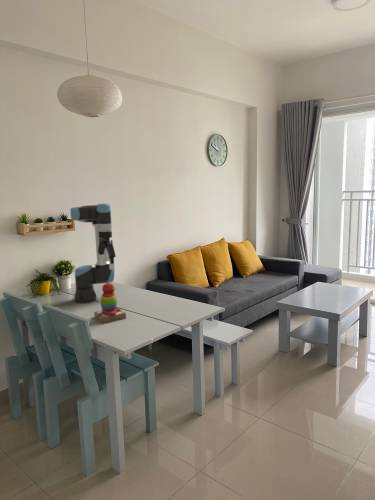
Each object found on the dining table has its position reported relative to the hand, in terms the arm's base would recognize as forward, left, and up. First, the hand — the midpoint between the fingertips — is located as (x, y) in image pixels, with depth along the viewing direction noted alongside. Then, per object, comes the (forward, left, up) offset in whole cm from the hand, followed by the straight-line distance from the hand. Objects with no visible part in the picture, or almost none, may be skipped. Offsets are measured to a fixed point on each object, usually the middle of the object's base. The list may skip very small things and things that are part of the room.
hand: (107, 267), depth 223 cm
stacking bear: (0, 0, -28) cm, 28 cm away
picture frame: (0, 0, -31) cm, 31 cm away
